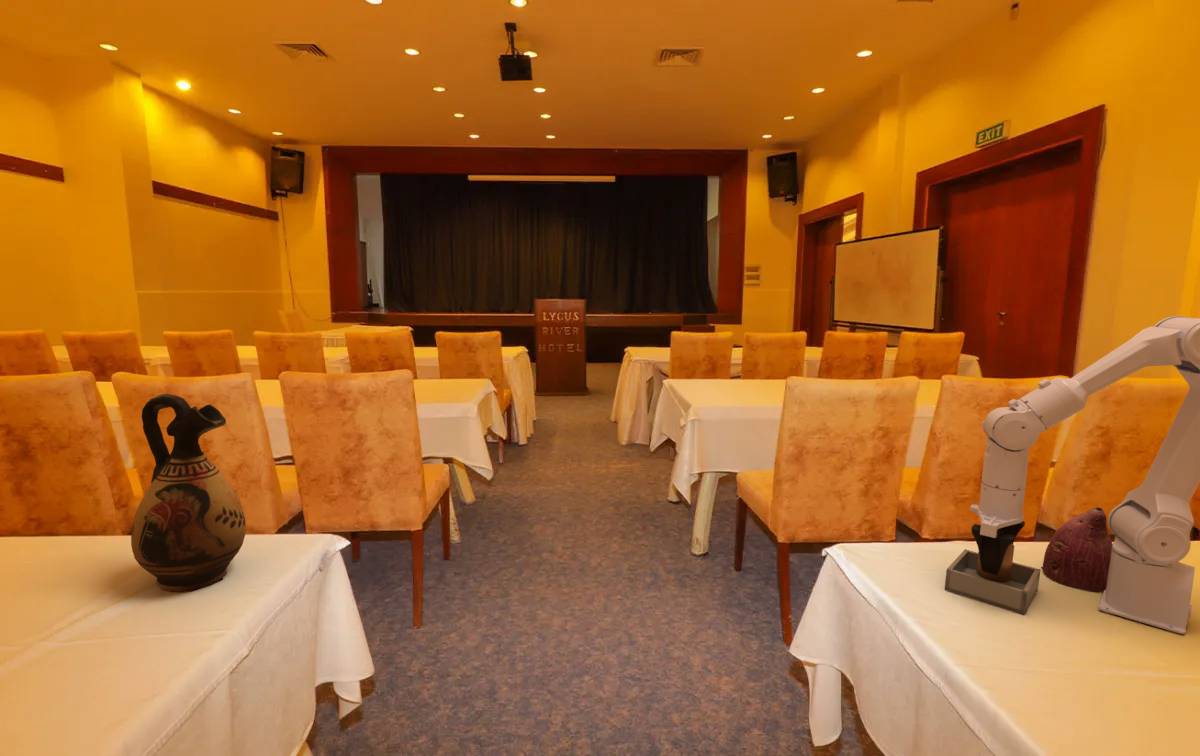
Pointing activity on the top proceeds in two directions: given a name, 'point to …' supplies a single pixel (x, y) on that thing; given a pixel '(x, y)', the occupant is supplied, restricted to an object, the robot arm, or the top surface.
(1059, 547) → the vegetable
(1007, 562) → the walnut cylinder
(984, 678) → the top surface
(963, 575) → the grey bin
